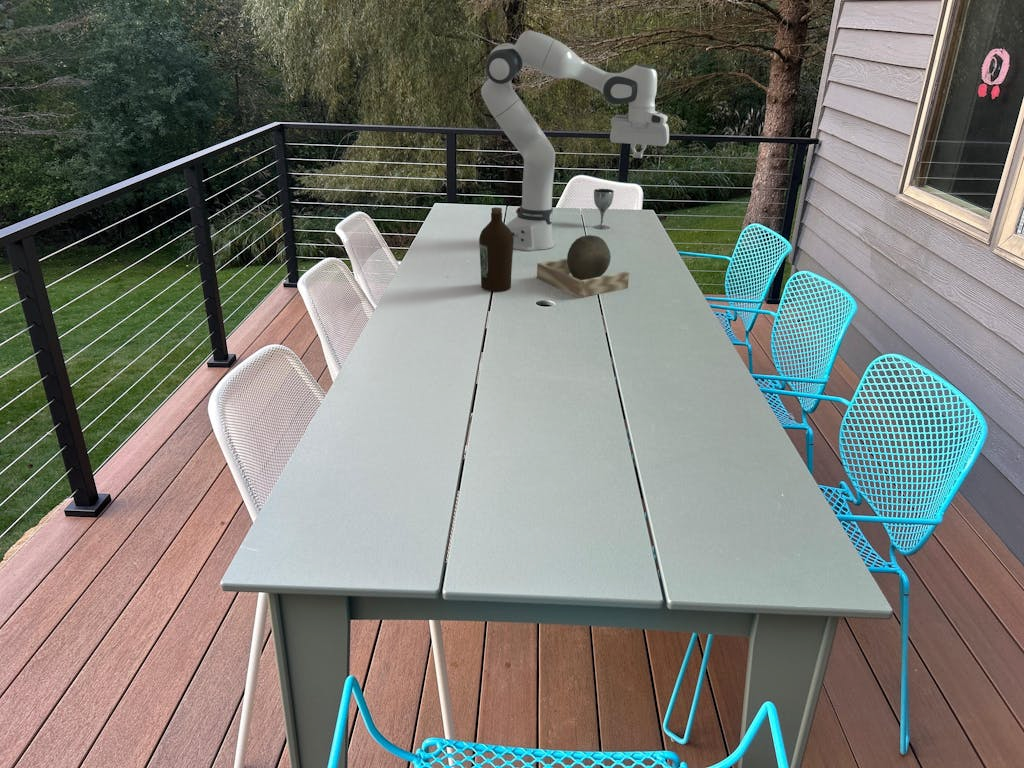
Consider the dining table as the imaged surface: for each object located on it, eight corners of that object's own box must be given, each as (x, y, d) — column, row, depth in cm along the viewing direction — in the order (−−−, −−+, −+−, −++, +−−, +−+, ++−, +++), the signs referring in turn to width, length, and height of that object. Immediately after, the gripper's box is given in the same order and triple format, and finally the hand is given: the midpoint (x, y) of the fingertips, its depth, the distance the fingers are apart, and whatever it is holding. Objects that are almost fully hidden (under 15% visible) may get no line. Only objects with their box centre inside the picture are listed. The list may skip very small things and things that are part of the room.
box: (583, 269, 262) (584, 255, 259) (627, 287, 244) (629, 272, 242) (536, 278, 252) (537, 263, 250) (579, 297, 234) (580, 282, 232)
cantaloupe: (560, 285, 245) (562, 239, 239) (572, 273, 258) (574, 229, 251) (603, 290, 241) (606, 244, 235) (613, 278, 253) (616, 233, 247)
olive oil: (507, 281, 248) (508, 203, 238) (516, 291, 239) (518, 211, 229) (475, 283, 245) (475, 205, 235) (484, 294, 236) (484, 213, 226)
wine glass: (611, 229, 312) (614, 192, 306) (592, 229, 312) (594, 192, 306) (610, 225, 320) (612, 188, 313) (591, 224, 320) (593, 188, 313)
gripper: (609, 114, 262) (606, 156, 268) (668, 118, 255) (664, 161, 261) (614, 113, 267) (611, 154, 273) (672, 116, 260) (667, 158, 266)
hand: (637, 157), depth 267 cm, fingers closed
